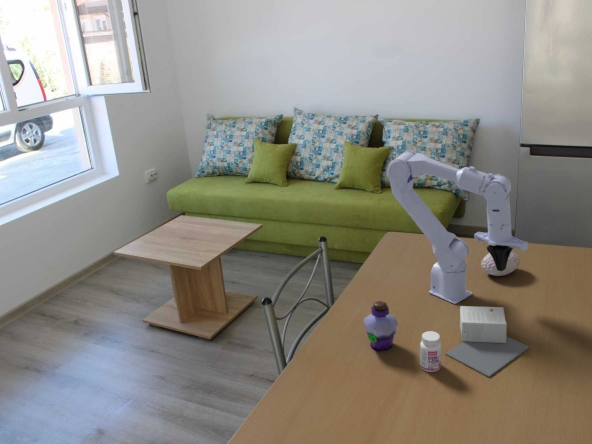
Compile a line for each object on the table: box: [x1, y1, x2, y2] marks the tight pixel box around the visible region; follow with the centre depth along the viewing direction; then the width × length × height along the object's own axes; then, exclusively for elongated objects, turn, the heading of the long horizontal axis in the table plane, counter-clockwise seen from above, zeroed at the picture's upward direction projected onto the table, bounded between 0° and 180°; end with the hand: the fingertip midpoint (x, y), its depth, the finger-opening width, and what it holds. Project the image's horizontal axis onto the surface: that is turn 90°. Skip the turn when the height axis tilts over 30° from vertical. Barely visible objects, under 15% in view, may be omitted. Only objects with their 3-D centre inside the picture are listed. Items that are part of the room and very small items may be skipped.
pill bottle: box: [419, 330, 442, 373], centre depth 127 cm, size 5×5×8 cm
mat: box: [444, 336, 530, 378], centre depth 132 cm, size 12×16×1 cm
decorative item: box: [480, 250, 521, 277], centre depth 166 cm, size 9×11×10 cm
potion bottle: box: [363, 300, 399, 352], centre depth 136 cm, size 9×9×12 cm
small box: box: [459, 305, 508, 343], centre depth 137 cm, size 8×6×10 cm
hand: (501, 269), depth 147 cm, fingers closed
